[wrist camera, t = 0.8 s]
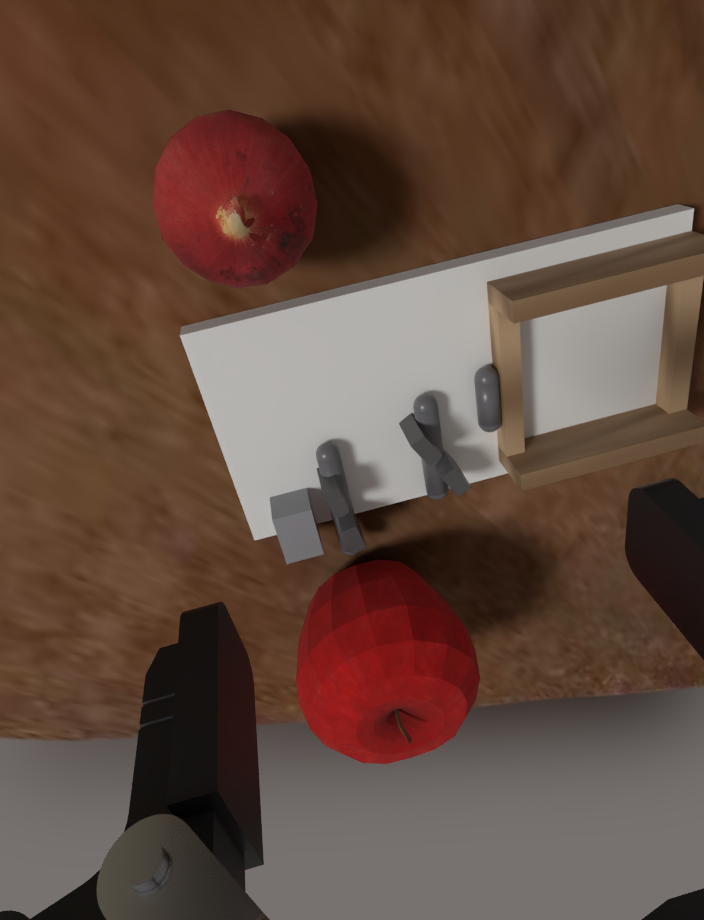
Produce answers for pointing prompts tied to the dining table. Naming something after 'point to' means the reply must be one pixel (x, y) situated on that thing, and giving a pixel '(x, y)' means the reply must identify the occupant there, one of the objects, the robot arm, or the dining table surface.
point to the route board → (413, 381)
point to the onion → (234, 199)
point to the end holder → (581, 285)
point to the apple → (384, 664)
